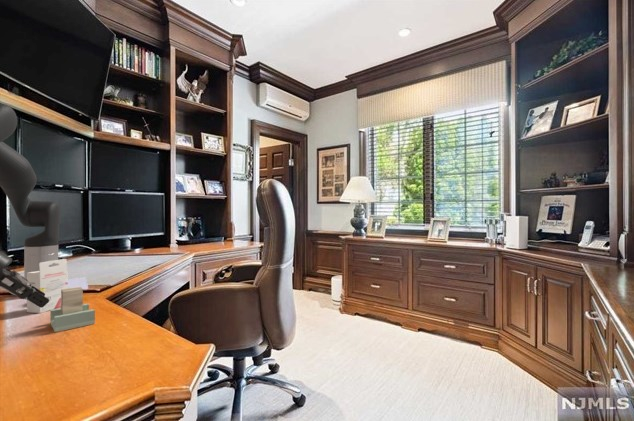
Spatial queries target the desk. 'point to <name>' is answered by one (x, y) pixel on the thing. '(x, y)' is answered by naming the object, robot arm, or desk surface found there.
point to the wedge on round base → (78, 283)
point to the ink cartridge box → (49, 284)
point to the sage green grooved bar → (71, 318)
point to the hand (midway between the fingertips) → (43, 300)
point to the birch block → (71, 300)
